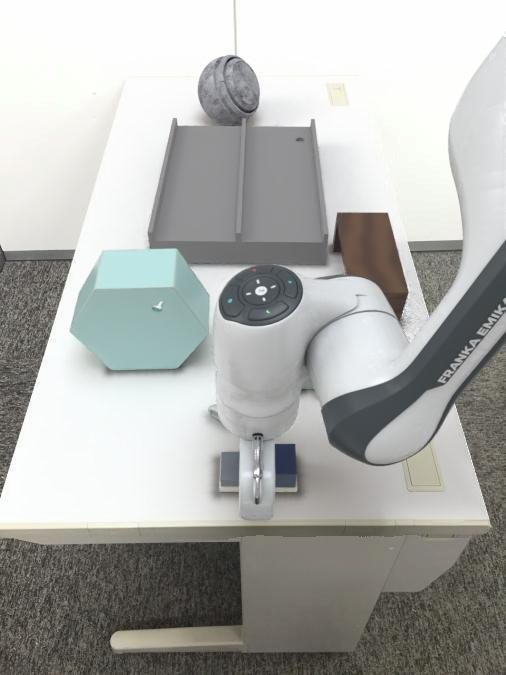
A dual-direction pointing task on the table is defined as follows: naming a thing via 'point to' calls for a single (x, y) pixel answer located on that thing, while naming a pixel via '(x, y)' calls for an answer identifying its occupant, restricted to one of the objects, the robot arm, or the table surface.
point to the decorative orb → (228, 90)
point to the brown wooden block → (372, 253)
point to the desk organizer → (241, 195)
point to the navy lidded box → (283, 469)
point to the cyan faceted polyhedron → (141, 310)
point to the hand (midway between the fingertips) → (255, 458)
